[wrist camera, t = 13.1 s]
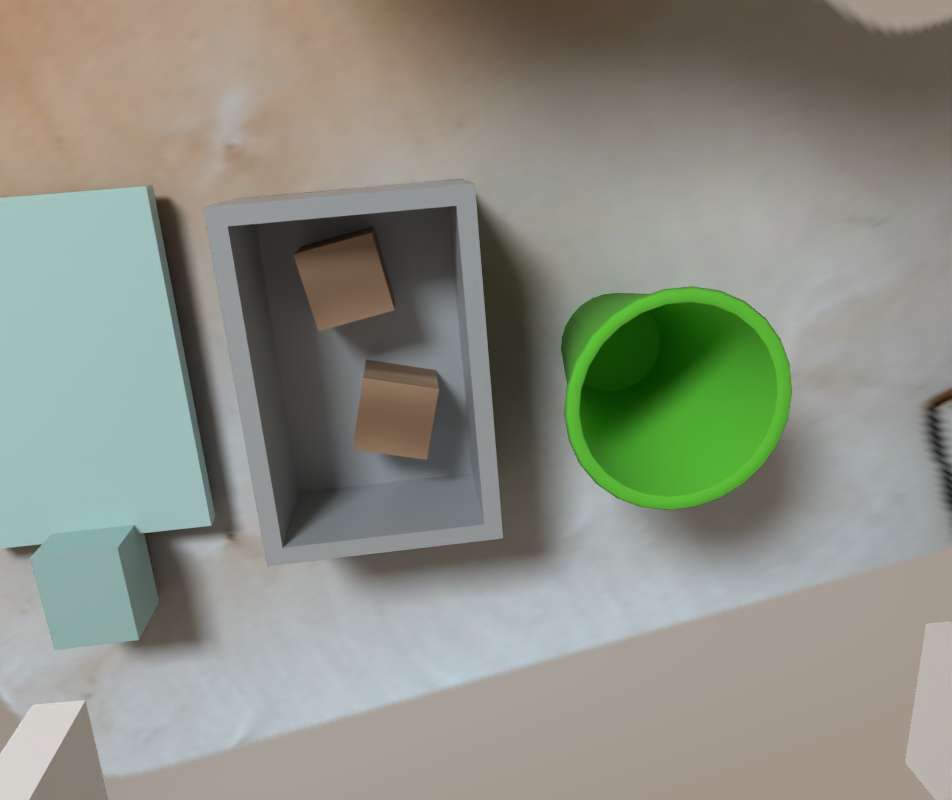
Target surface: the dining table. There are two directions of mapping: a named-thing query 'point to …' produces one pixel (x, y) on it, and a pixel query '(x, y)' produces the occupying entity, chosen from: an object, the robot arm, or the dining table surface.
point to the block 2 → (396, 410)
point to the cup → (673, 394)
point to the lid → (93, 407)
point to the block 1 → (345, 278)
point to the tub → (359, 371)
